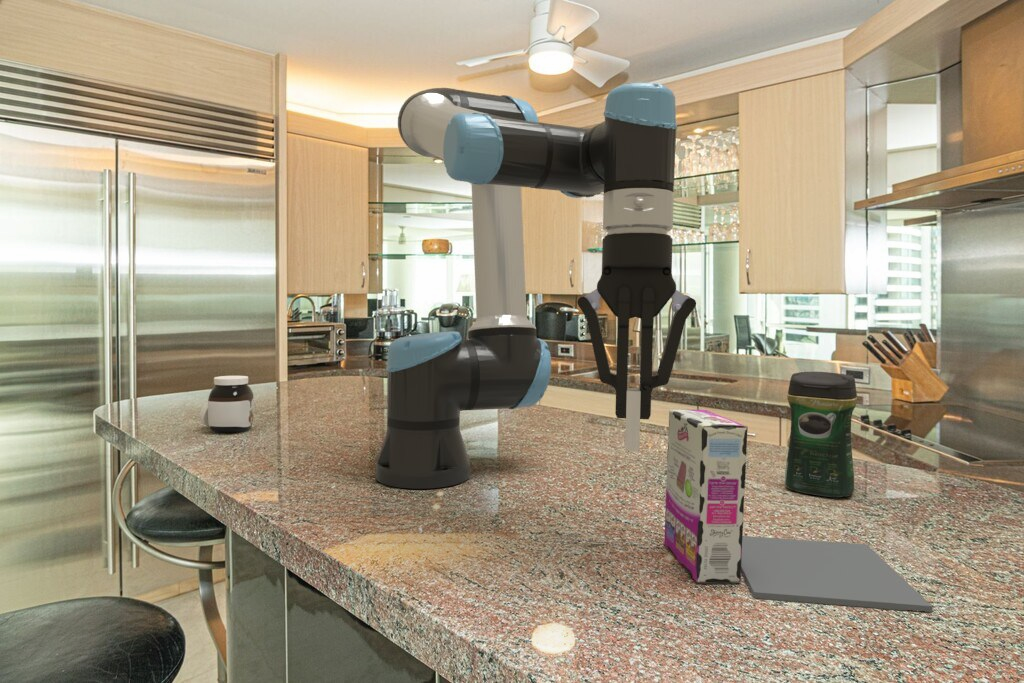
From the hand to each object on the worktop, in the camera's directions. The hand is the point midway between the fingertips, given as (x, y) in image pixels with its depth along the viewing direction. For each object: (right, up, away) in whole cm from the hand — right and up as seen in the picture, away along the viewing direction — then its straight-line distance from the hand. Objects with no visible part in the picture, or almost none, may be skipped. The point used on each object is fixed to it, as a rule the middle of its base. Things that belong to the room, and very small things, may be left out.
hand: (631, 447), depth 72 cm
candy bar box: (+7, -13, 0) cm, 15 cm away
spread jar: (-76, -8, +69) cm, 103 cm away
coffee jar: (+34, -12, +29) cm, 46 cm away
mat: (+19, -13, -2) cm, 23 cm away
